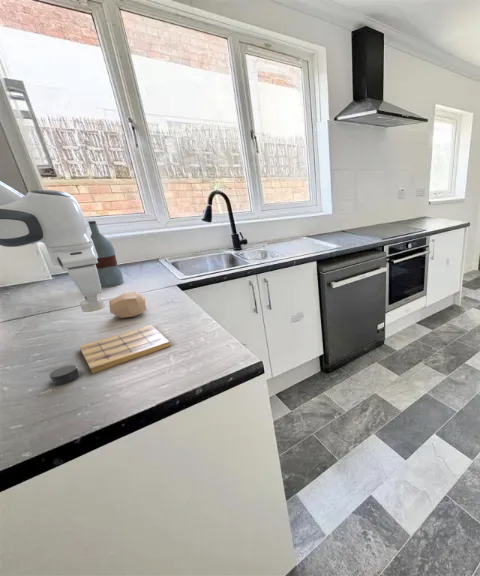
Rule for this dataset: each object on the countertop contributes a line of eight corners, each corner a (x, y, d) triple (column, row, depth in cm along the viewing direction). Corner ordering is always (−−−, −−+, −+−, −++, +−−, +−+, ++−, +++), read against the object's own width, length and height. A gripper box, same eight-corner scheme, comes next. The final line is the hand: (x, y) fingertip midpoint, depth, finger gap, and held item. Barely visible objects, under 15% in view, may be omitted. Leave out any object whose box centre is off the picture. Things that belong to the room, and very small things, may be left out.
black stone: (46, 384, 76) (42, 376, 75) (66, 372, 81) (63, 365, 80) (66, 385, 76) (62, 377, 75) (85, 373, 81) (82, 365, 80)
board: (80, 350, 91) (78, 345, 91) (152, 328, 104) (151, 324, 104) (92, 373, 80) (90, 368, 80) (170, 345, 93) (169, 341, 93)
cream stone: (77, 312, 84) (74, 304, 83) (93, 305, 89) (91, 297, 88) (94, 312, 84) (91, 304, 83) (110, 304, 89) (108, 297, 88)
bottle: (111, 280, 153) (91, 219, 143) (129, 280, 153) (110, 219, 143) (94, 287, 145) (71, 222, 134) (113, 287, 144) (91, 222, 134)
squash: (113, 325, 107) (99, 302, 104) (119, 313, 123) (108, 293, 120) (149, 313, 112) (137, 290, 109) (151, 302, 128) (140, 283, 125)
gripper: (52, 251, 85) (71, 297, 90) (62, 263, 73) (83, 316, 77) (83, 247, 89) (99, 291, 94) (97, 257, 77) (115, 308, 82)
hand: (92, 302), depth 86 cm, fingers closed on cream stone, 5 cm apart
